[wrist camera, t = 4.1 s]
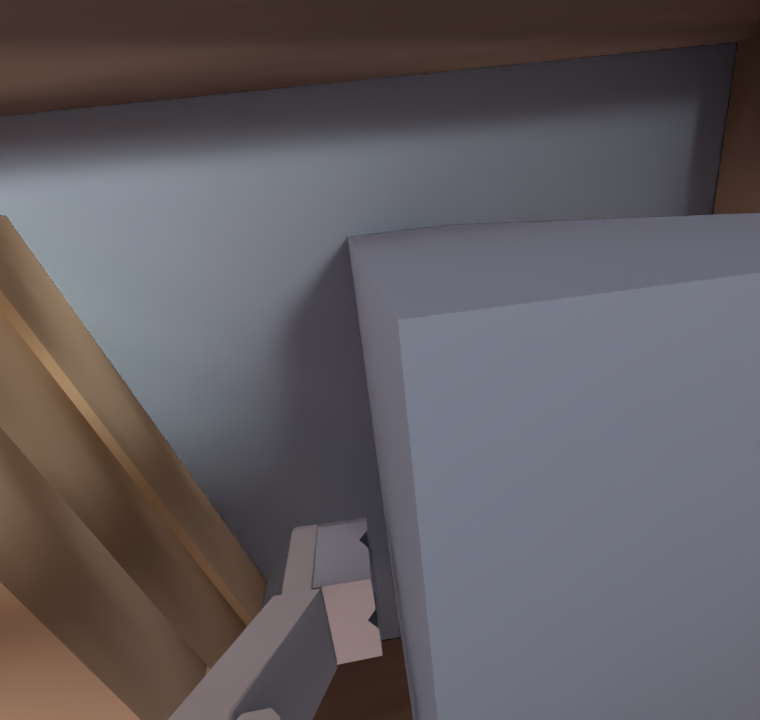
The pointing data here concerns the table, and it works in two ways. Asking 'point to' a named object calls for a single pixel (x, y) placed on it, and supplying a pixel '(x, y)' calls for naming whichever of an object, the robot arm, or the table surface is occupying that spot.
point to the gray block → (570, 463)
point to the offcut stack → (98, 529)
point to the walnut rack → (347, 63)
